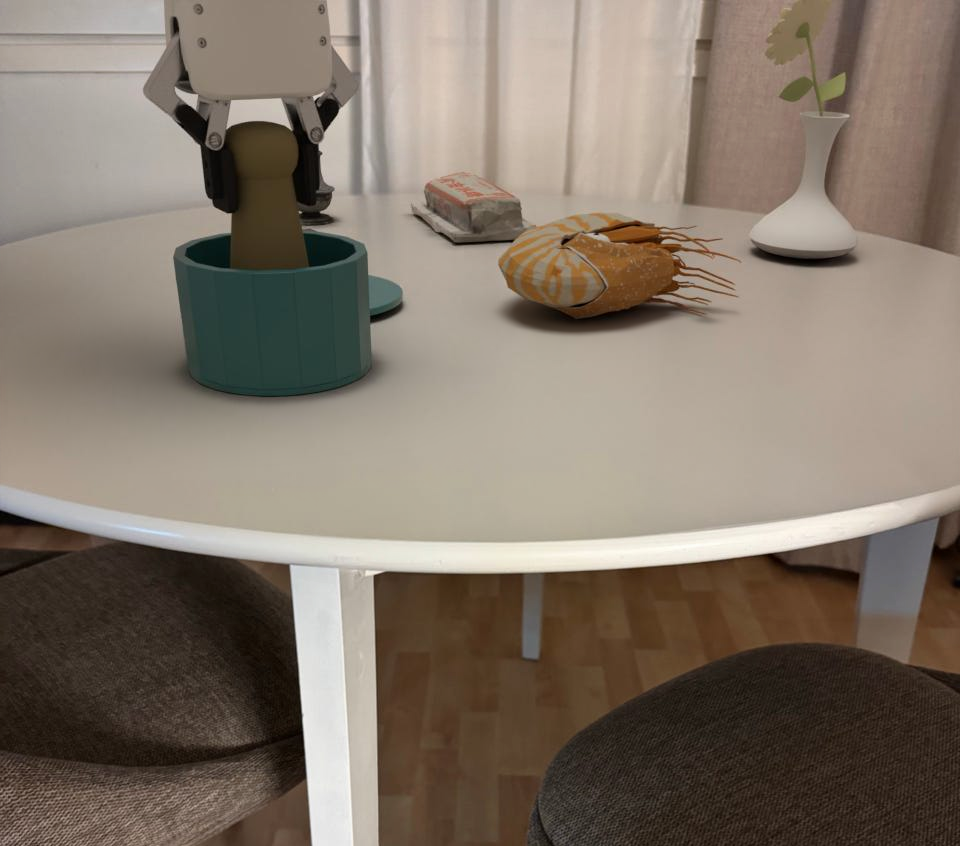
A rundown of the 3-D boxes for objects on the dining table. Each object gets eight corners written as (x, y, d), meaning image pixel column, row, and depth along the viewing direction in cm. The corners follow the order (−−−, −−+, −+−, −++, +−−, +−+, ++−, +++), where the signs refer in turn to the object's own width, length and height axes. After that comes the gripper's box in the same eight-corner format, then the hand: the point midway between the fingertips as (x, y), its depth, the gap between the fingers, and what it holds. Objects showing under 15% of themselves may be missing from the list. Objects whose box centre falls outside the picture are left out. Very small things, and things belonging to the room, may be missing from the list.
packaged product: (540, 194, 116) (453, 199, 114) (538, 240, 119) (453, 246, 116) (487, 168, 131) (409, 171, 128) (486, 210, 133) (410, 214, 131)
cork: (245, 275, 81) (229, 115, 75) (322, 280, 80) (313, 119, 74) (217, 296, 76) (199, 126, 70) (300, 301, 75) (288, 129, 69)
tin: (230, 408, 73) (215, 282, 68) (164, 355, 83) (147, 241, 78) (402, 376, 79) (399, 258, 75) (323, 330, 89) (316, 223, 84)
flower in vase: (815, 240, 121) (861, -16, 108) (876, 263, 112) (934, -14, 99) (714, 247, 118) (748, -18, 104) (769, 271, 109) (813, -15, 95)
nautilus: (730, 300, 101) (739, 357, 89) (506, 275, 102) (485, 327, 90) (748, 213, 96) (761, 261, 84) (513, 188, 98) (492, 231, 85)
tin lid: (279, 337, 87) (273, 262, 84) (214, 296, 97) (206, 228, 94) (433, 313, 94) (432, 242, 91) (356, 277, 104) (354, 212, 101)
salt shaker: (304, 227, 123) (296, 112, 116) (276, 219, 127) (267, 107, 120) (346, 221, 126) (340, 109, 120) (318, 213, 130) (311, 104, 123)
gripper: (337, -100, 72) (349, 188, 82) (80, -114, 64) (128, 207, 74) (391, -103, 66) (397, 205, 76) (118, -119, 59) (164, 228, 68)
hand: (264, 203), depth 75 cm, fingers closed on cork, 5 cm apart
